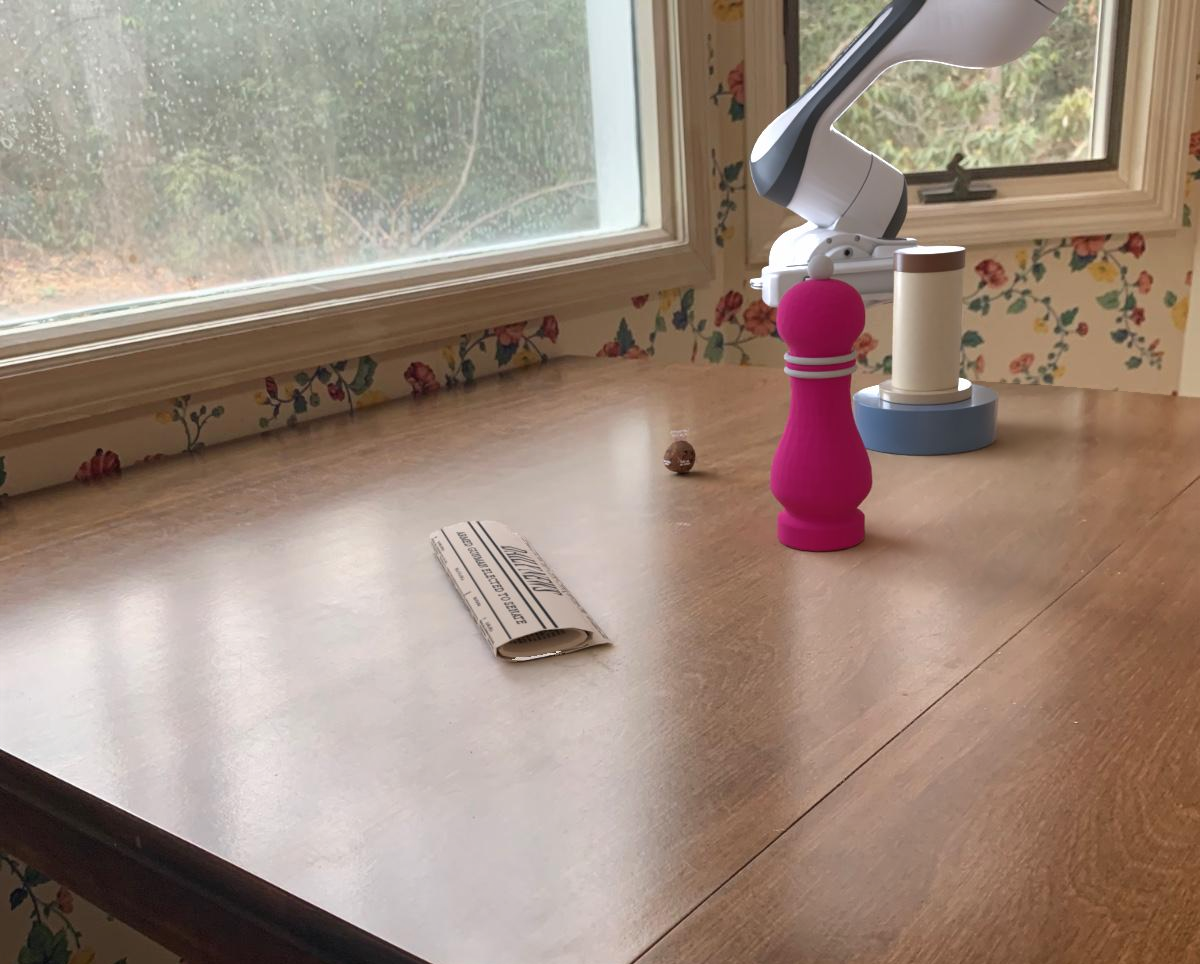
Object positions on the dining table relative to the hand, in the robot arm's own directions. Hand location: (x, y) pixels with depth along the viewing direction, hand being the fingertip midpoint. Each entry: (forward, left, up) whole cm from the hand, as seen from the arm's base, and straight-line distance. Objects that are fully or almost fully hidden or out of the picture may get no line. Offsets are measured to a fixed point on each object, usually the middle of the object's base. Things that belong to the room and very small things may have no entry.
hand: (883, 288), depth 119 cm
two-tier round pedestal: (0, +11, -12) cm, 17 cm away
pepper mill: (+18, +36, -13) cm, 42 cm away
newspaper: (+41, +40, -13) cm, 59 cm away
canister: (0, +11, -7) cm, 13 cm away
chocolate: (+24, +15, -13) cm, 31 cm away
